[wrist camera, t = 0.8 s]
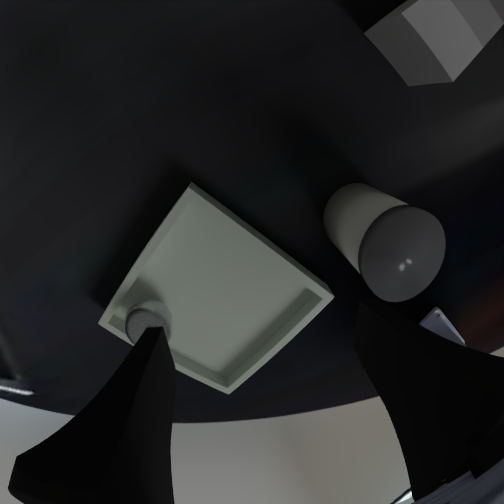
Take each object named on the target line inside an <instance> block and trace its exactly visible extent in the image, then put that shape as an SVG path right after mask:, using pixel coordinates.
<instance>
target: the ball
mask: <svg viewBox="0 0 504 504" xmlns="http://www.w3.org/2000/svg"><path fill="white" fill-rule="evenodd" d="M159 326H163V328H164V331H165V335H166V338H167V341H168V342H169V341H170V340H171V338H172V336H173V333H174V328H175V324H174V318H173V316H172V313H171V312H170V310H169V309H168V308H167V307H166V306H165V305H164V304H163V303H161V302H159V301H157V300H153V299H143V300H140V301H137V302H136V303H134V304H133V305H132V306H131V307H130V308H129V309H128V311H127V312H126V315H125V318H124V330H125V333H126V335H127V337H128V339H129V340H130V341H131V342H132V343H133V344H134V345H135V344H136V342H137V341H138V339H139V338H140V336H141V335H142V333H143V332H144V330H145V329H146V328H147V327H159Z"/></svg>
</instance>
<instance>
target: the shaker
mask: <svg viewBox="0 0 504 504" xmlns="http://www.w3.org/2000/svg"><path fill="white" fill-rule="evenodd" d="M323 224H324V229H325V232H326V234H327V236H328V238H329V239H330V240H331V241H332V243H333V244H334V245H335V246H336V247H337V248H338V249H339V250H340V251H341V253H342V254H343V255H344V256H345V257H346V258H347V259H348V260H349V262H350V263H351V264H352V265H353V266H354V267H355V268H356V270H357V271H358V272H359V273H360V274H361V277H362V279H363V280H364V282H365V283H366V284H367V285H368V287H369V288H370V289H371V290H372V291H373V293H374V294H375V295H376V296H378V297H379V298H381V299H383V300H385V301H389V302H400V301H404V300H408V299H410V298H412V297H414V296H416V295H417V294H419V293H420V292H422V291H423V290H424V289H425V288H426V287H427V286H428V285H429V284H430V283H431V282H432V280H433V279H434V278H435V276H436V275H437V273H438V271H439V269H440V267H441V264H442V262H443V258H444V254H445V235H444V231H443V228H442V226H441V224H440V222H439V221H438V220H437V218H435V217H434V216H433V215H432V214H430V213H428V212H426V211H424V210H422V209H420V208H418V207H416V206H413V205H408V204H406V203H404V202H402V201H400V200H398V199H396V198H394V197H392V196H390V195H388V194H386V193H384V192H381V191H379V190H377V189H375V188H373V187H371V186H368V185H366V184H361V183H353V184H349V185H346V186H344V187H342V188H340V189H339V190H337V191H336V192H335V193H334V194H333V195H332V197H331V198H330V199H329V201H328V203H327V205H326V207H325V210H324V215H323Z"/></svg>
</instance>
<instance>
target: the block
mask: <svg viewBox="0 0 504 504" xmlns="http://www.w3.org/2000/svg"><path fill="white" fill-rule="evenodd" d="M503 24H504V0H407V1H406V2H404V3H403V4H401V5H400V6H399V7H397V8H396V9H395V10H393V11H392V12H391V13H389V14H388V15H387V16H385V17H384V18H383V19H381V20H380V21H379V22H377V23H376V24H375V25H374V26H372V27H371V28H370V29H369V30H367V31H366V32H365V33H364V34H365V35H366V36H367V37H368V38H369V39H370V40H371V42H372V43H373V44H374V45H375V46H376V47H377V48H378V49H379V51H380V52H381V53H382V54H383V55H384V56H385V57H386V59H387V60H388V61H389V62H390V63H391V65H392V66H393V67H394V68H395V70H396V71H397V72H398V73H399V75H400V76H401V77H402V79H403V80H404V81H405V82H406V84H407V85H408V86H416V85H424V84H433V83H444V82H453V81H454V80H455V79H456V78H457V77H458V76H459V74H460V73H461V72H462V71H463V70H464V69H465V68H466V67H467V65H468V64H469V63H470V62H471V61H472V60H473V59H474V58H475V56H476V55H477V54H478V53H479V52H480V51H481V50H482V48H483V47H484V46H485V45H486V44H487V43H488V41H489V40H490V39H491V38H492V37H493V36H494V34H495V33H496V32H497V31H498V30H499V29H500V27H501V26H502V25H503Z"/></svg>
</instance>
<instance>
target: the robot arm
mask: <svg viewBox="0 0 504 504" xmlns="http://www.w3.org/2000/svg"><path fill="white" fill-rule="evenodd" d="M352 342H353V344H354V347H355V350H356V352H357V355H358V357H359V360H360V362H361V364H362V366H363V367H364V369H365V371H366V373H367V375H368V376H369V378H370V380H371V382H372V383H373V385H374V387H375V389H376V390H377V392H378V394H379V396H380V397H381V399H382V401H383V403H384V405H385V407H386V409H387V411H388V413H389V416H390V418H391V421H392V423H393V426H394V428H395V431H396V434H397V437H398V439H399V443H400V445H401V449H402V452H403V455H404V459H405V463H406V467H407V471H408V476H409V480H410V485H411V491H412V497H413V499H414V501H415V502H414V503H412V504H504V357H499V356H495V355H491V354H487V353H484V352H480V351H477V350H474V349H471V348H468V347H467V346H466V345H465V344H464V343H465V341H464V340H463V338H462V337H461V336H460V334H459V333H458V332H457V330H456V329H455V328H454V326H453V325H452V324H451V323H450V321H449V320H448V319H447V318H446V316H445V315H444V314H443V313H442V311H441V310H440V309H439V308H438V307H435V308H433V309H432V310H431V312H430V313H429V314H428V315H427V316H426V317H425V318H424V319H423V320H422V321H421V322H420V323H419V324H418V323H416V322H414V321H413V320H411V319H409V318H407V317H406V316H404V315H402V314H401V313H399V312H397V311H396V310H394V309H392V308H391V307H389V306H387V305H386V304H384V303H382V302H380V301H379V300H377V299H375V298H370V299H364V300H359V306H358V312H357V318H356V323H355V329H354V334H353V339H352ZM175 391H176V379H175V364H174V361H173V358H172V354H171V351H170V348H169V345H168V341H167V338H166V335H165V331H164V328H163V326H159V327H147V328H146V329H145V330H144V332H143V333H142V335H141V336H140V338H139V339H138V341H137V342H136V344H135V345H134V346H133V348H132V349H131V351H130V352H129V354H128V355H127V357H126V358H125V359H124V361H123V362H122V364H121V365H120V366H119V368H118V369H117V370H116V372H115V373H114V374H113V376H112V377H111V378H110V379H109V381H108V382H107V383H106V384H105V386H104V387H103V388H102V389H101V390H100V392H99V393H98V394H97V395H96V396H95V397H94V398H93V399H92V400H91V401H90V402H89V404H88V405H87V406H86V407H85V408H84V409H82V410H81V411H80V412H79V413H78V414H77V415H76V416H75V417H73V418H72V419H71V420H70V421H69V422H68V423H67V424H66V425H64V426H63V427H62V428H60V429H59V430H58V431H57V432H55V433H54V434H53V435H51V436H50V437H48V438H47V439H45V440H44V441H43V442H41V443H40V444H38V445H36V446H34V447H33V448H31V449H29V450H27V451H26V452H24V453H22V454H20V455H18V456H17V457H16V460H15V464H14V467H13V471H12V474H11V478H10V482H9V486H8V490H9V492H10V494H11V495H13V496H14V497H15V498H16V499H18V500H19V501H21V502H22V503H24V504H174V496H173V487H172V475H171V454H170V445H171V432H172V431H171V430H172V421H173V411H174V401H175Z"/></svg>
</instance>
